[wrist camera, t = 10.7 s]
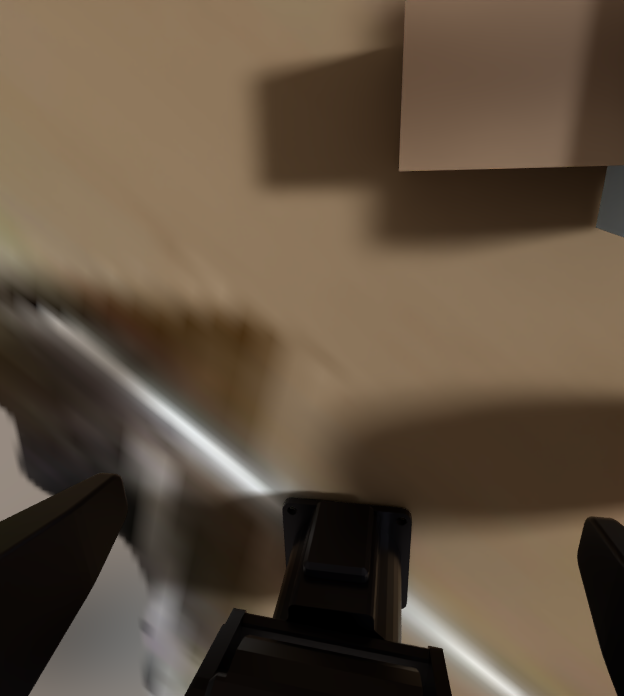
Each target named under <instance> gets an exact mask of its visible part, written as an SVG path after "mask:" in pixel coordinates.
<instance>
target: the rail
mask: <svg viewBox="0 0 624 696" xmlns="http://www.w3.org/2000/svg"><path fill="white" fill-rule="evenodd" d="M616 165H624V0H405V19H404V46H403V73H402V100H401V127H400V154H399V171H430V170H467V169H504V168H542V167H579V166H616Z"/></svg>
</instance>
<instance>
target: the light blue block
mask: <svg viewBox="0 0 624 696" xmlns="http://www.w3.org/2000/svg"><path fill="white" fill-rule="evenodd" d="M596 228H599V229H602V230H604V231H607V232H610V233H613V234H616V235H618V236H621V237H624V165H616V166H607V171H606V177H605V182H604V187H603V192H602V197H601V203H600V208H599V213H598V218H597V224H596Z"/></svg>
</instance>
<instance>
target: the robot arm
mask: <svg viewBox="0 0 624 696" xmlns="http://www.w3.org/2000/svg"><path fill="white" fill-rule="evenodd" d="M290 507H294V508H296V509H291V508H290ZM127 512H128V503H127V499H126V494H125V490H124V485H123V481H122V478H121V477H120V475H118V474H112V473H99V474H96V475H94V476H92V477H90V478H88V479H86V480H84V481H82V482H80V483H78V484H76V485H74V486H72V487H70V488H68V489H66V490H64V491H62V492H60V493H58V494H56V495H54V496H51V497H49V498H47V499H45V500H43V501H41V502H39V503H37V504H35V505H33V506H31V507H29V508H27V509H25V510H23V511H21V512H19V513H17V514H15V515H13V516H11V517H9V518H7V519H5V520H3V521H1V522H0V696H28V695H29V694H30V692H31V690H32V689H33V687H34V685H35V684H36V682H37V680H38V679H39V677H40V675H41V673H42V672H43V670H44V668H45V667H46V665H47V663H48V662H49V660H50V658H51V656H52V655H53V653H54V652H55V650H56V648H57V647H58V645H59V643H60V642H61V640H62V638H63V636H64V635H65V633H66V632H67V630H68V628H69V626H70V625H71V623H72V621H73V620H74V618H75V616H76V614H77V613H78V611H79V609H80V608H81V606H82V605H83V603H84V601H85V599H86V598H87V596H88V594H89V592H90V591H91V589H92V587H93V585H94V583H95V582H96V580H97V577H98V576H99V574H100V572H101V569H102V567H103V565H104V563H105V561H106V559H107V557H108V555H109V553H110V550H111V548H112V546H113V544H114V542H115V540H116V538H117V536H118V534H119V531H120V529H121V527H122V525H123V523H124V521H125V519H126V516H127ZM400 517H402V518H405V519H404V520H400V519H398V518H400ZM283 524H284V539H285V554H286V572H285V575H284V579H283V583H282V586H281V590H280V593H279V597H278V601H277V604H276V608H275V612H274V615H273V618H270V617H265V616H260V615H254V614H249V613H247V612H246V610H242V609H236V608H234V609H233V610H232V612H231V614H230V616H229V618H228V620H227V622H226V623H225V624H223V625H222V627H221V629H220V631H219V632H218V634H217V636H216V638H215V640H214V642H213V644H212V645H211V647H210V649H209V651H208V653H207V655H206V657H205V658H204V660H203V662H202V664H201V666H200V668H199V670H198V671H197V673H196V675H195V677H194V679H193V681H192V683H191V684H190V686H189V688H188V690H187V692H186V694H185V696H452V694H451V689H450V684H449V679H448V674H447V669H446V664H445V659H444V654H443V649H442V648H437V647H432V646H428V648H424V647H419V646H413V645H408V644H403V643H401V609H403V608H404V607H406V604H407V590H408V575H409V559H410V543H411V527H412V516H411V513H410V512H409V511H408V510H407V509H405V508H399V507H388V506H377V505H366V504H356V503H345V502H334V501H323V500H313V499H302V498H289V499H287V500H286V501H285V503H284V506H283ZM577 559H578V566H579V570H580V574H581V577H582V581H583V585H584V589H585V593H586V596H587V600H588V604H589V608H590V611H591V615H592V619H593V623H594V627H595V630H596V634H597V638H598V641H599V645H600V648H601V652H602V655H603V658H604V661H605V664H606V666H607V669H608V672H609V675H610V677H611V680H612V683H613V685H614V688H615V690H616V693H617V696H624V526H623V525H622V524H620V523H619V522H618V521H616V520H614V519H612V518H604V517H593V516H592V517H588V518H587V519H586V520H585V523H584V527H583V531H582V535H581V539H580V544H579V548H578V553H577Z"/></svg>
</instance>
